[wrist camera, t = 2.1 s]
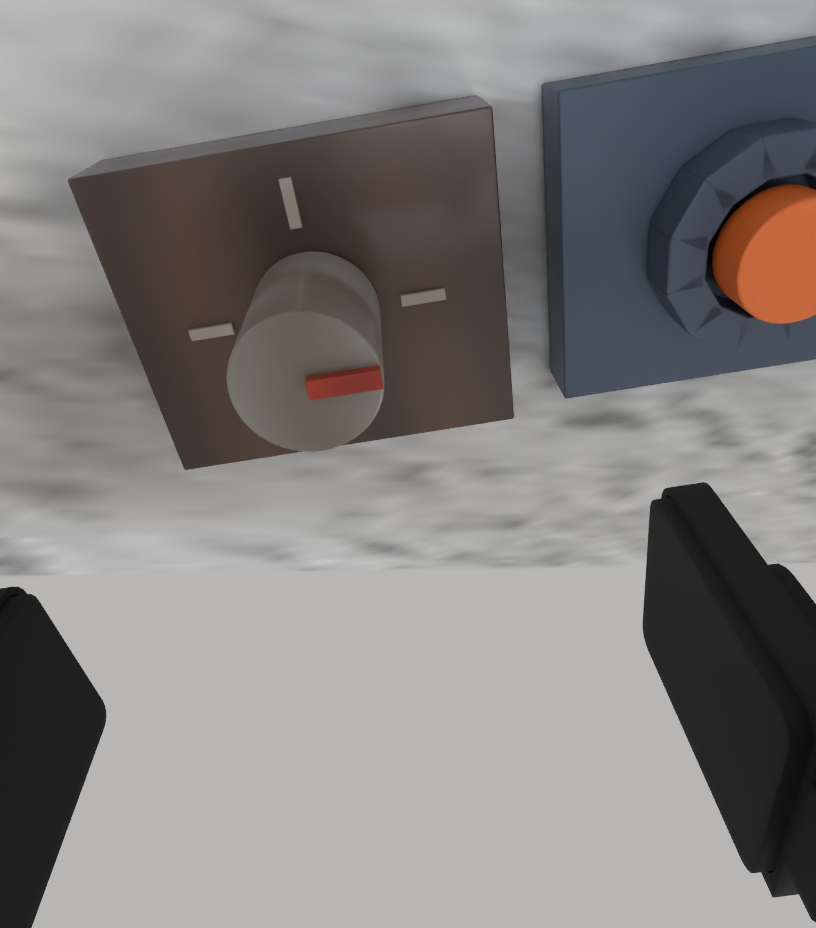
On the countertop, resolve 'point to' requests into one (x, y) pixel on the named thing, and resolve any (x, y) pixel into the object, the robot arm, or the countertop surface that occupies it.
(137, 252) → the panel
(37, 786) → the robot arm
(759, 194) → the release button
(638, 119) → the button block
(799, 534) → the countertop surface
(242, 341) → the lock knob
